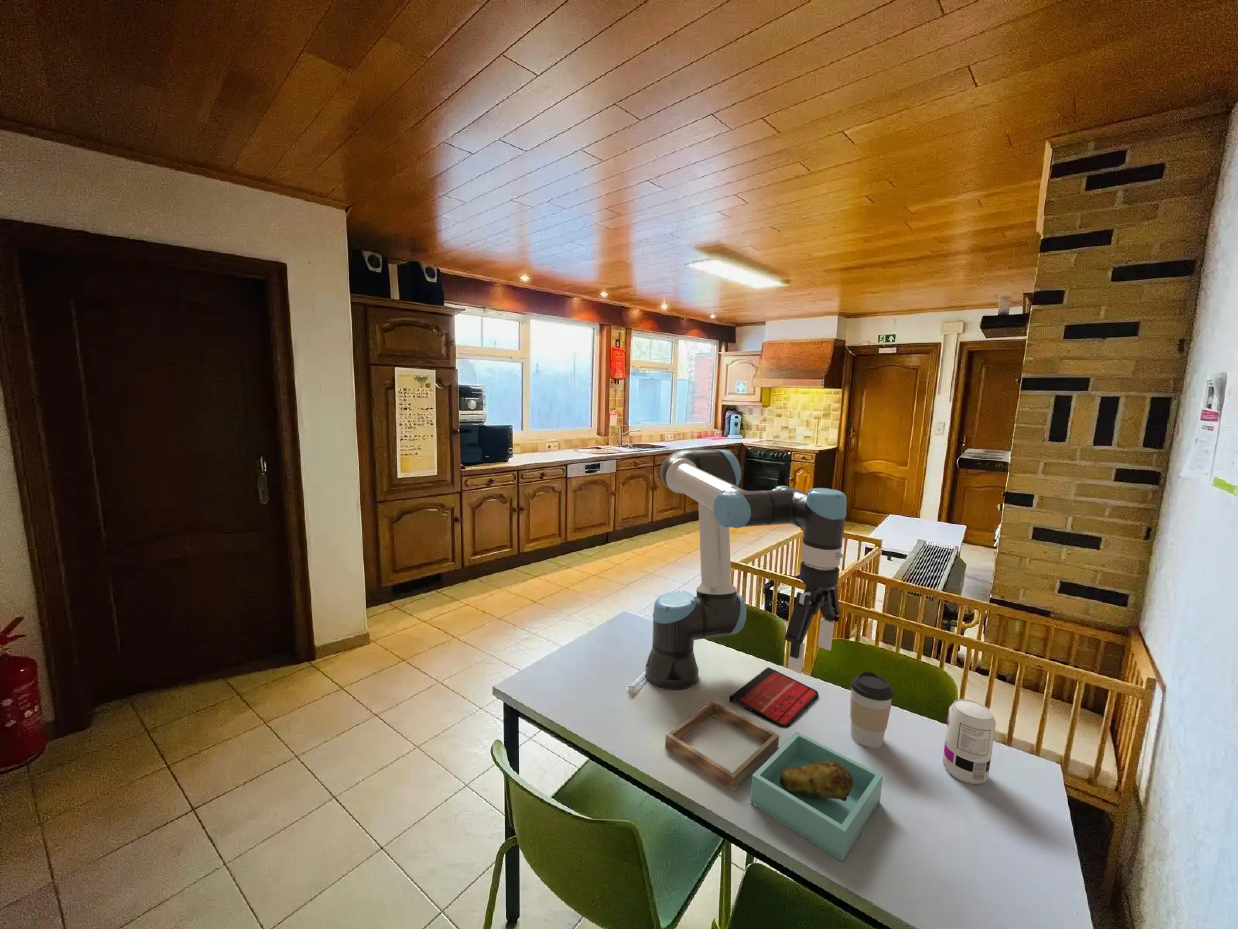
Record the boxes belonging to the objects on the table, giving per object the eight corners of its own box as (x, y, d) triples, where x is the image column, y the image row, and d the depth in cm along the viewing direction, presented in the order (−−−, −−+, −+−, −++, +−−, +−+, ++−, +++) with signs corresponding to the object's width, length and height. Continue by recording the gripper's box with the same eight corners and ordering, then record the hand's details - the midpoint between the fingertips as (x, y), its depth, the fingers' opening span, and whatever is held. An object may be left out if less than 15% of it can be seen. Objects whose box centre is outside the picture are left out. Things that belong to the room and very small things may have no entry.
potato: (790, 770, 109) (793, 735, 108) (854, 801, 101) (858, 764, 100) (775, 793, 103) (777, 757, 102) (842, 828, 95) (845, 789, 94)
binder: (729, 695, 134) (767, 665, 149) (728, 703, 135) (766, 673, 150) (786, 725, 124) (821, 690, 139) (785, 734, 124) (820, 698, 139)
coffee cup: (893, 754, 116) (900, 693, 114) (850, 747, 118) (856, 687, 116) (881, 728, 125) (887, 671, 123) (842, 723, 127) (847, 666, 125)
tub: (750, 802, 102) (752, 775, 101) (794, 756, 115) (796, 731, 114) (842, 862, 89) (845, 831, 88) (879, 802, 102) (882, 775, 101)
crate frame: (665, 746, 117) (665, 734, 116) (713, 711, 130) (713, 700, 130) (733, 791, 104) (733, 777, 104) (778, 747, 118) (779, 735, 117)
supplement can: (933, 764, 113) (941, 702, 111) (958, 755, 117) (966, 694, 114) (971, 791, 106) (980, 724, 104) (996, 780, 109) (1005, 715, 107)
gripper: (809, 585, 94) (798, 689, 98) (862, 555, 111) (851, 645, 115) (772, 573, 99) (763, 673, 103) (828, 546, 117) (819, 633, 120)
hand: (810, 658), depth 109 cm, fingers open, 13 cm apart
